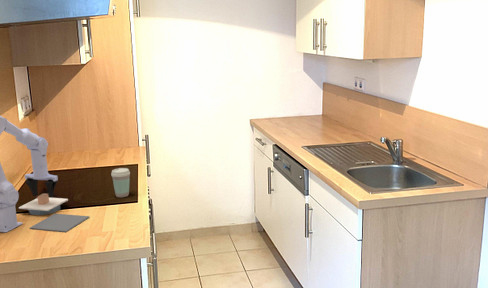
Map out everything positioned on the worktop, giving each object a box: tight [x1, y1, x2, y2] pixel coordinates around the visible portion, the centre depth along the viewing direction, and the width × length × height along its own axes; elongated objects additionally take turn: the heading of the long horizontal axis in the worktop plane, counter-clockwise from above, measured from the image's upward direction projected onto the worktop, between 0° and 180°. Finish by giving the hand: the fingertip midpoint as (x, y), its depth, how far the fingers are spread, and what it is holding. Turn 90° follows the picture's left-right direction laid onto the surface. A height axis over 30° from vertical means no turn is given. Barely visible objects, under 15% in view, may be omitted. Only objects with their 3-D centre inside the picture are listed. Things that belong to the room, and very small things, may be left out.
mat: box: [29, 212, 90, 233], centre depth 199 cm, size 16×16×1 cm
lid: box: [18, 193, 69, 211], centre depth 213 cm, size 14×14×4 cm
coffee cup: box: [110, 167, 131, 198], centre depth 231 cm, size 8×8×12 cm
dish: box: [28, 204, 61, 216], centre depth 214 cm, size 12×12×2 cm
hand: (43, 196), depth 213 cm, fingers open, 7 cm apart
